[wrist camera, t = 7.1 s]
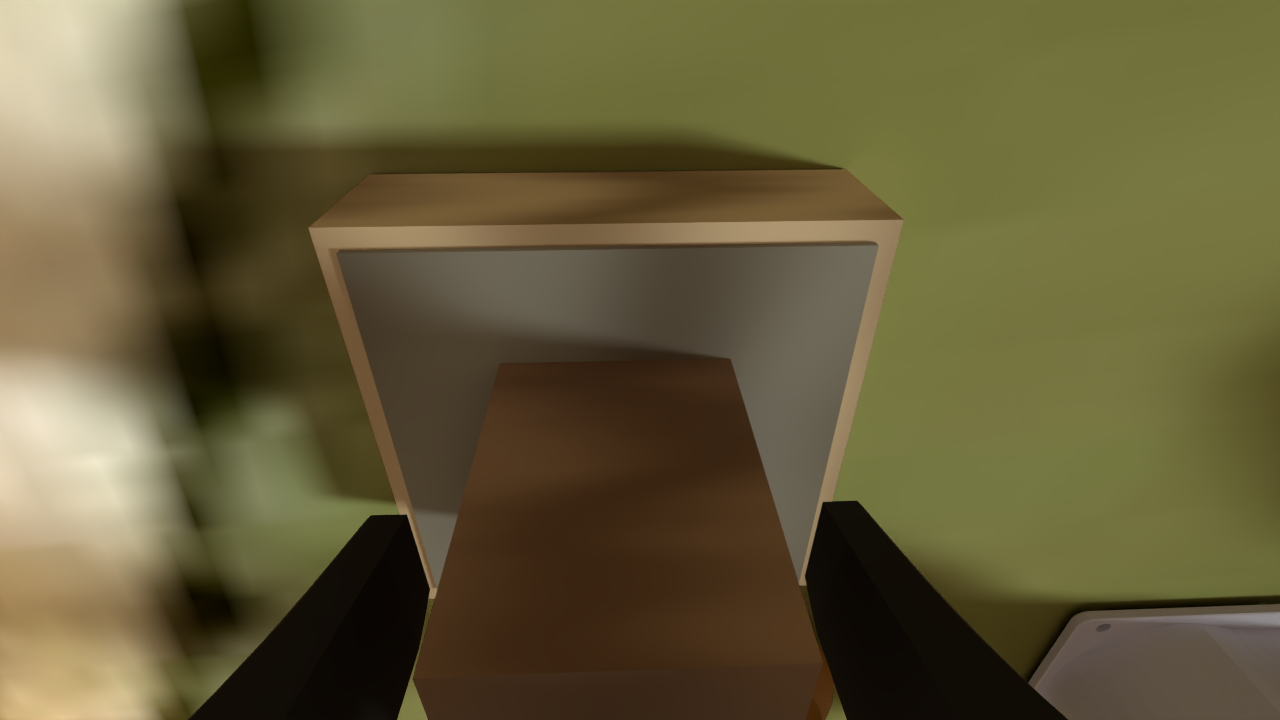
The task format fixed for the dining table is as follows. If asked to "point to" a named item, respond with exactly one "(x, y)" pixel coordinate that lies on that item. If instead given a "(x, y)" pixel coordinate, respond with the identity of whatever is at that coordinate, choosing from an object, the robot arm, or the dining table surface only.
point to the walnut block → (618, 557)
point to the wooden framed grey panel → (606, 308)
